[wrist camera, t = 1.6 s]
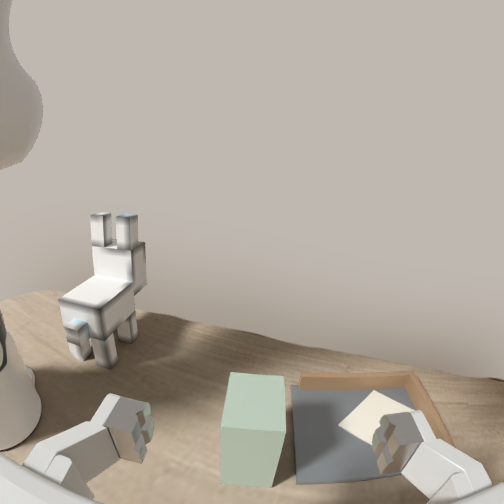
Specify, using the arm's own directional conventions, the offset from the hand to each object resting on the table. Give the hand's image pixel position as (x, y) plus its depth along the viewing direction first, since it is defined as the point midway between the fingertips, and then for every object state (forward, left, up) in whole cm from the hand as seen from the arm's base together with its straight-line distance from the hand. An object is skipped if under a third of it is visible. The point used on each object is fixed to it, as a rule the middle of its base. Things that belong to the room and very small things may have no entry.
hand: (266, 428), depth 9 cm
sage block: (0, +12, -20) cm, 24 cm away
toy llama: (-24, +30, -21) cm, 44 cm away
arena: (+14, +17, -20) cm, 30 cm away
